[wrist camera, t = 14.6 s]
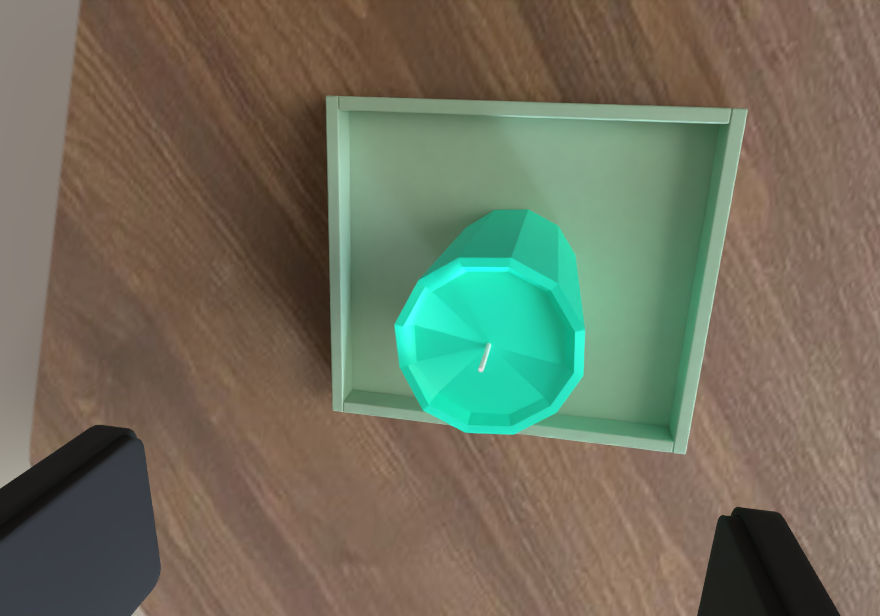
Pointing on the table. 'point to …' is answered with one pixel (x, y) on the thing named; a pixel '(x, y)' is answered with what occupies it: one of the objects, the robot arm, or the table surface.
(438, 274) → the candle
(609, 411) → the tray
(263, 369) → the table surface
